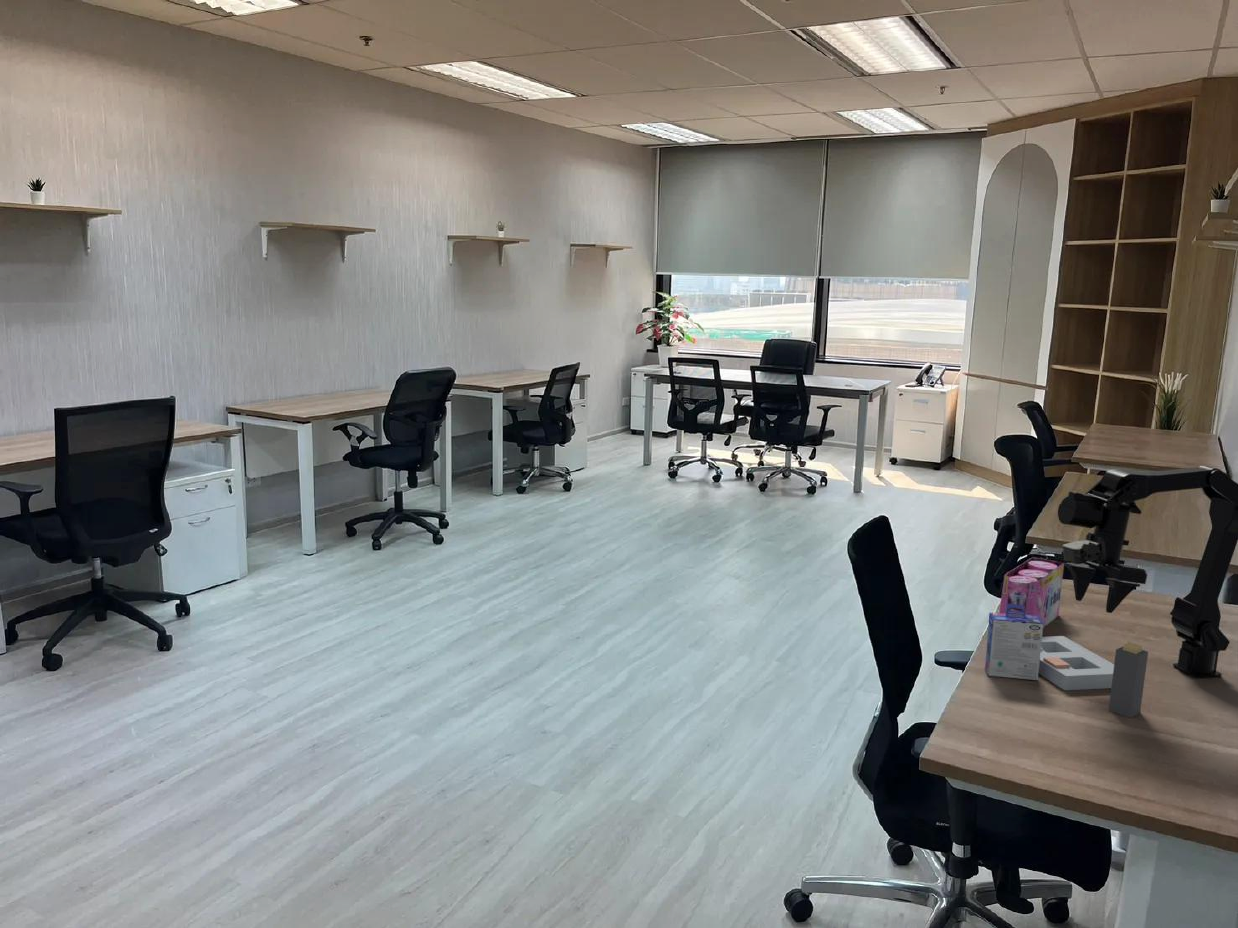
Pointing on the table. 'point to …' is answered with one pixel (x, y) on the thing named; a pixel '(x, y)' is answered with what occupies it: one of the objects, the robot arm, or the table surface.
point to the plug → (1128, 680)
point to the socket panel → (1073, 665)
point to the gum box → (1034, 588)
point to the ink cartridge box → (1014, 644)
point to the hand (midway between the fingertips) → (1093, 606)
